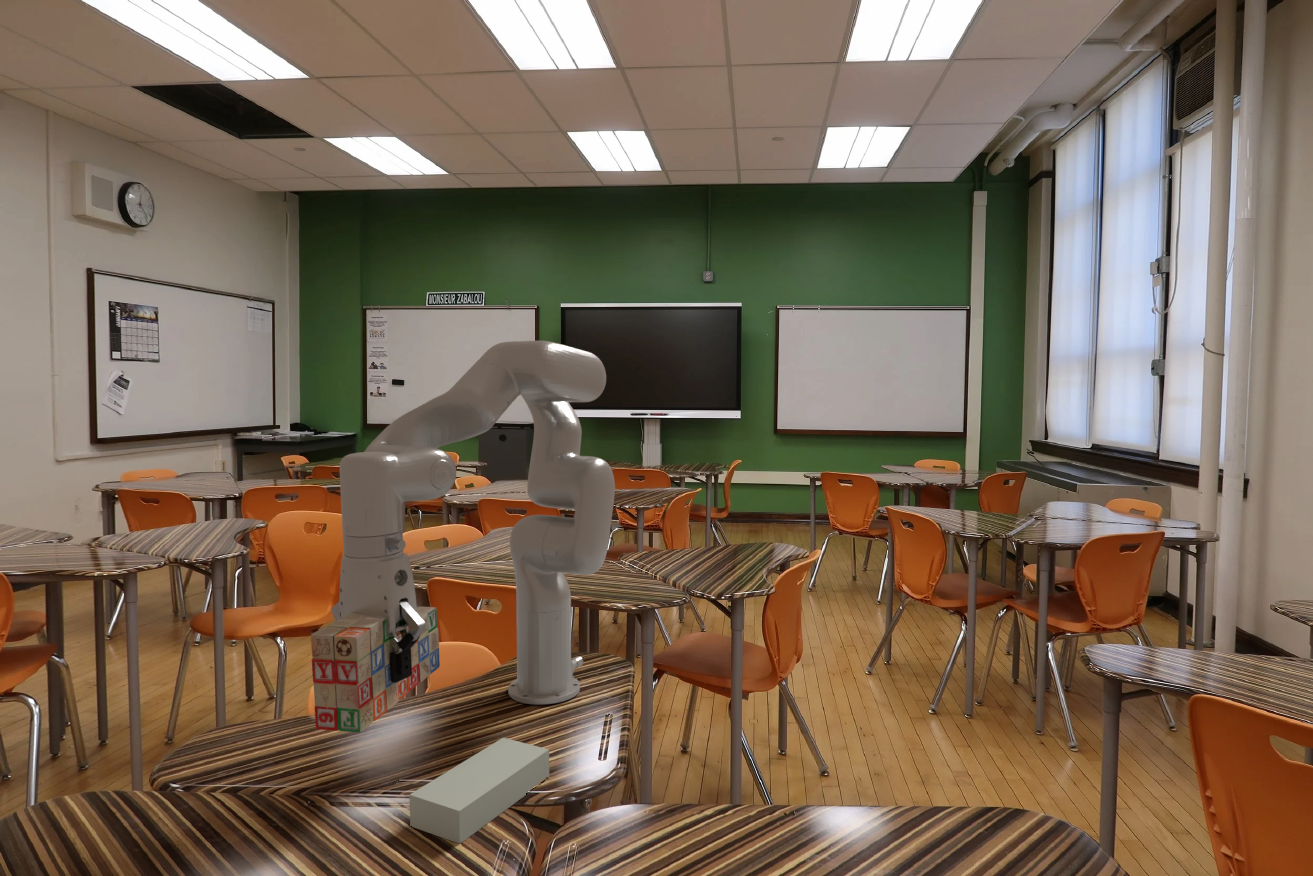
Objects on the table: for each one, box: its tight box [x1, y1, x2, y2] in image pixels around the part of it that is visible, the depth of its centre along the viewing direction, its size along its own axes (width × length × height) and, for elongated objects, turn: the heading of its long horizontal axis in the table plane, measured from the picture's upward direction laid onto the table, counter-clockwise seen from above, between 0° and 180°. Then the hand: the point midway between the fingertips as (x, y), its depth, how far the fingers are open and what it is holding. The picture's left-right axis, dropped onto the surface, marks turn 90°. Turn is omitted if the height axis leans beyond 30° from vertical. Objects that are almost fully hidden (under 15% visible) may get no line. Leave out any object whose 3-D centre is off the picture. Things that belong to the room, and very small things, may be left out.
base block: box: [409, 737, 550, 844], centre depth 103 cm, size 18×8×4 cm, turn 152°
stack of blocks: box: [310, 606, 441, 733], centre depth 106 cm, size 21×6×12 cm, turn 169°
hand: (379, 673), depth 106 cm, fingers closed on stack of blocks, 7 cm apart
